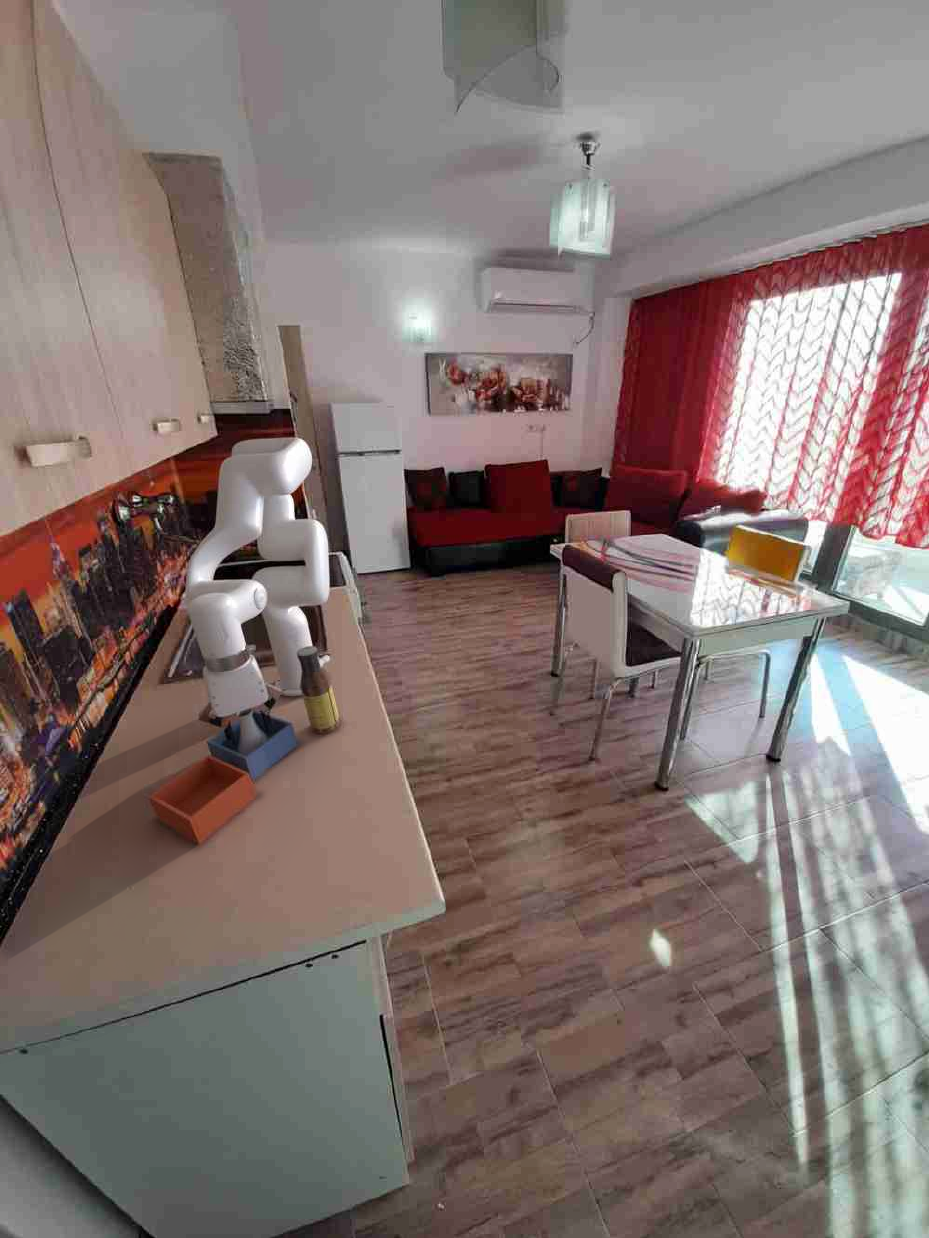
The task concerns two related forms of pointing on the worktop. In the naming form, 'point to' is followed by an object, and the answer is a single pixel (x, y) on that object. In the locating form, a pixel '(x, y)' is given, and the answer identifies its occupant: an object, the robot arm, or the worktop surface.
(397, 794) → the worktop surface
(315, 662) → the sauce bottle
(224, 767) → the terracotta bin
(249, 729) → the flask
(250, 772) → the blue bin
